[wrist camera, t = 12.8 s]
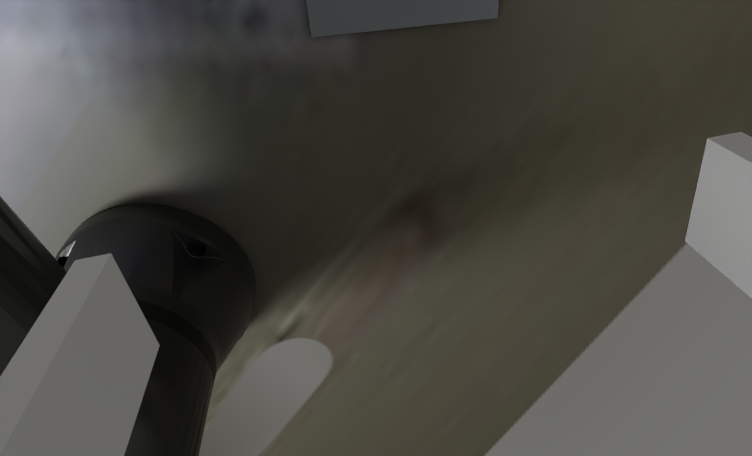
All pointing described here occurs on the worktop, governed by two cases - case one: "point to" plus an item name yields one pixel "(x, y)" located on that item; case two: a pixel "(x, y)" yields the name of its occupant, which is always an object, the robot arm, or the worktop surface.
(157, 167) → the worktop surface
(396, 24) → the mat
